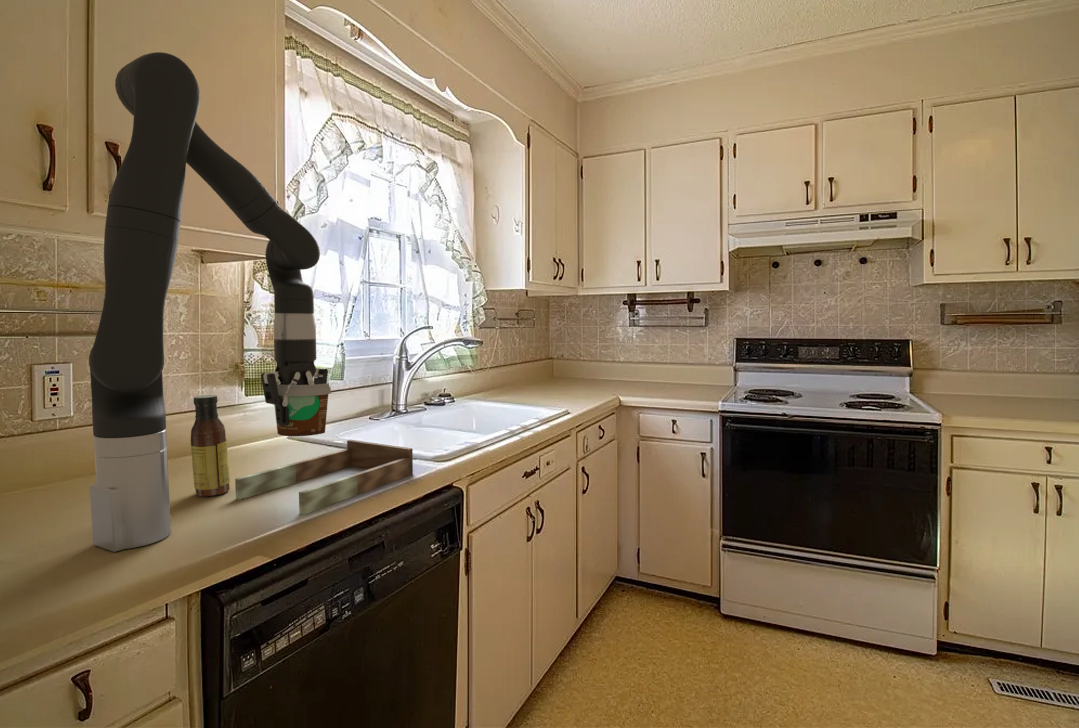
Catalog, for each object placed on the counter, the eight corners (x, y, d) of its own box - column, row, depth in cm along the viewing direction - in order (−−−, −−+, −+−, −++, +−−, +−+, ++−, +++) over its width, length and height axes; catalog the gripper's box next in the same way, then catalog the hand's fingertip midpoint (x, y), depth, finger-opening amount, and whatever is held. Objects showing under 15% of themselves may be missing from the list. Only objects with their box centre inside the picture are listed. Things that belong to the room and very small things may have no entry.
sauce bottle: (222, 486, 116) (219, 392, 114) (235, 492, 112) (232, 395, 110) (187, 493, 111) (183, 395, 109) (199, 500, 107) (195, 398, 105)
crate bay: (303, 514, 99) (303, 482, 99) (235, 498, 108) (234, 468, 107) (412, 474, 126) (412, 448, 126) (351, 463, 134) (350, 439, 134)
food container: (255, 435, 106) (254, 384, 105) (276, 430, 112) (275, 381, 111) (313, 439, 104) (313, 386, 103) (331, 433, 110) (331, 383, 109)
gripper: (275, 338, 99) (278, 431, 100) (337, 336, 112) (339, 418, 113) (248, 337, 102) (251, 427, 104) (311, 336, 115) (313, 415, 117)
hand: (297, 422), depth 109 cm, fingers closed on food container, 5 cm apart
